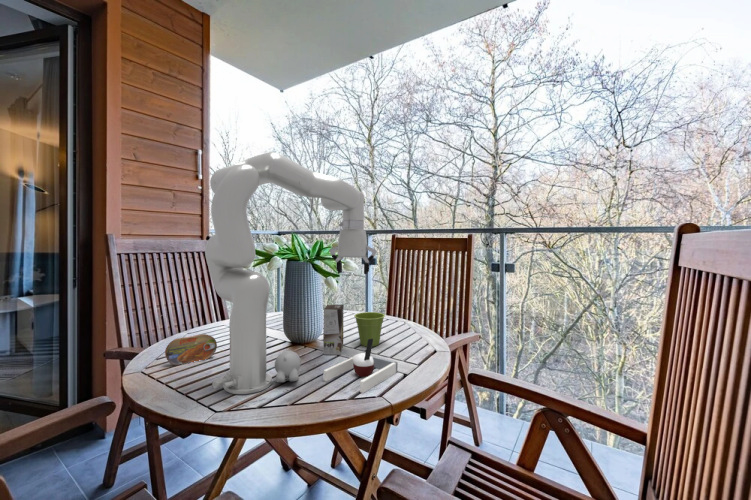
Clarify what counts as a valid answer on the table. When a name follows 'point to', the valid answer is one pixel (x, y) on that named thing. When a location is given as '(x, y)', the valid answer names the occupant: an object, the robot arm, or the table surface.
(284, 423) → the table surface
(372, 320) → the plant pot
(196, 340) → the tin
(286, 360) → the chubby cartoon animal
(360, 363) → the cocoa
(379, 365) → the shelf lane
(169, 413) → the table surface
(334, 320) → the coffee box
